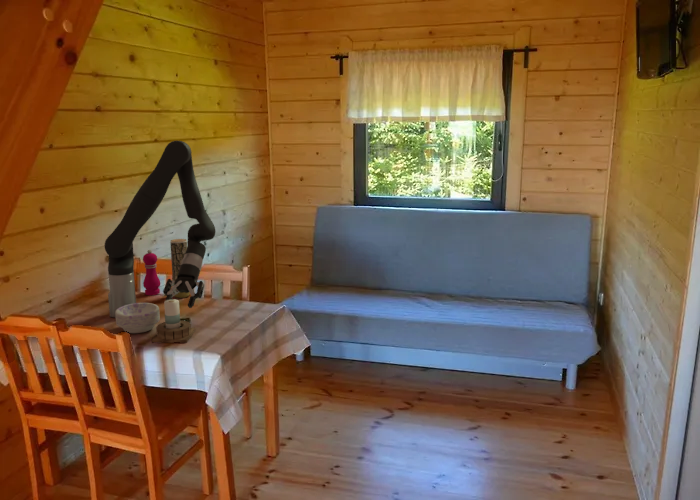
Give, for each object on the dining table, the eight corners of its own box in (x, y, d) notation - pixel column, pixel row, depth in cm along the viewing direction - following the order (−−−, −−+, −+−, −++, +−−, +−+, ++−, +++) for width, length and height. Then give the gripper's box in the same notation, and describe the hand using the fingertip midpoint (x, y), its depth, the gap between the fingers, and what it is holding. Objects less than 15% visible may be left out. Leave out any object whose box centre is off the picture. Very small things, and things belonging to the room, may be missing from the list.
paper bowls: (136, 339, 203) (135, 318, 202) (107, 331, 211) (105, 311, 209) (169, 326, 216) (168, 306, 215) (140, 319, 224) (139, 300, 222)
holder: (152, 342, 201) (151, 331, 200) (162, 330, 212) (161, 320, 211) (186, 342, 201) (186, 331, 200) (195, 330, 213) (194, 320, 212)
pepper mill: (140, 294, 255) (137, 250, 251) (151, 290, 262) (148, 247, 257) (153, 296, 253) (150, 252, 248) (164, 292, 259) (161, 248, 255)
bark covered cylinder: (185, 299, 250) (182, 242, 244) (170, 297, 251) (167, 241, 246) (192, 294, 256) (189, 239, 251) (178, 293, 258) (175, 238, 252)
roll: (164, 336, 204) (162, 303, 201) (168, 331, 209) (166, 299, 206) (178, 336, 204) (176, 303, 201) (182, 331, 209) (180, 299, 206)
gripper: (169, 261, 216) (156, 300, 207) (205, 263, 214) (193, 302, 205) (176, 272, 222) (164, 309, 214) (211, 273, 220) (200, 312, 211)
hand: (178, 306), depth 209 cm, fingers open, 8 cm apart
